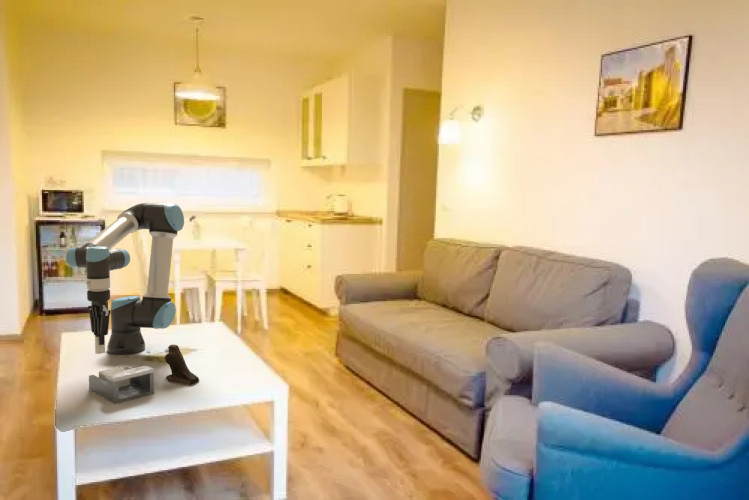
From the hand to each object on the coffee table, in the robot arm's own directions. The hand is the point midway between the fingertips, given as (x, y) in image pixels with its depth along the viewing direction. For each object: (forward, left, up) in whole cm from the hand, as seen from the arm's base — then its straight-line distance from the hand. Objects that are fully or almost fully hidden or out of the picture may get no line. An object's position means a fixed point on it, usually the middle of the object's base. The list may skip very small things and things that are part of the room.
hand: (100, 352), depth 211 cm
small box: (+11, 0, -10) cm, 15 cm away
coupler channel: (+17, 0, -10) cm, 20 cm away
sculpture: (+21, +20, -11) cm, 31 cm away
